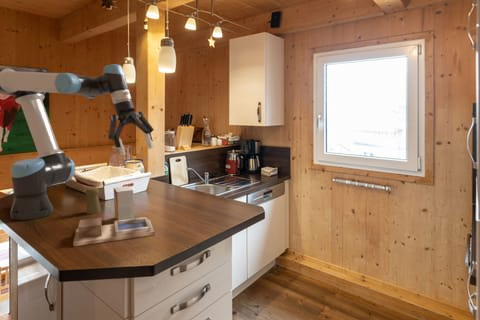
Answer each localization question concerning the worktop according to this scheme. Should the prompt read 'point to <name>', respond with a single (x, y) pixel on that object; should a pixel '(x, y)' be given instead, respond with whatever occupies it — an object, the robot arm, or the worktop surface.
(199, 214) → the worktop surface
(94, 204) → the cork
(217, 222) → the worktop surface
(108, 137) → the robot arm
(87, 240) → the board
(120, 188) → the small box
